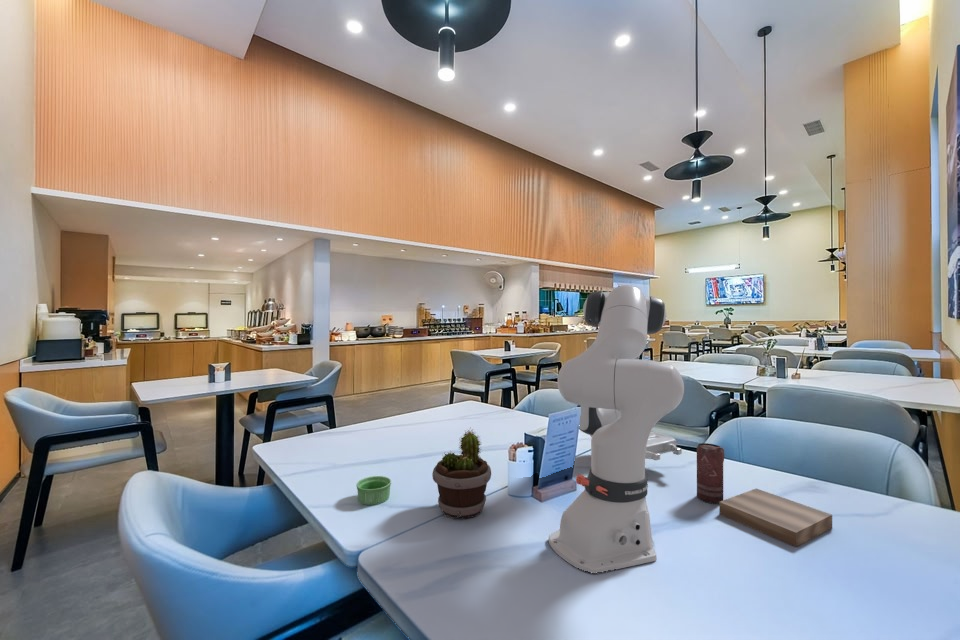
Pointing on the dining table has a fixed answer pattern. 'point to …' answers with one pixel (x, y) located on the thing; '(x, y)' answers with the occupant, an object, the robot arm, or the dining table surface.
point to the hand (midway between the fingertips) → (669, 454)
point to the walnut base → (776, 516)
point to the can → (710, 473)
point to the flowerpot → (462, 479)
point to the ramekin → (373, 490)
